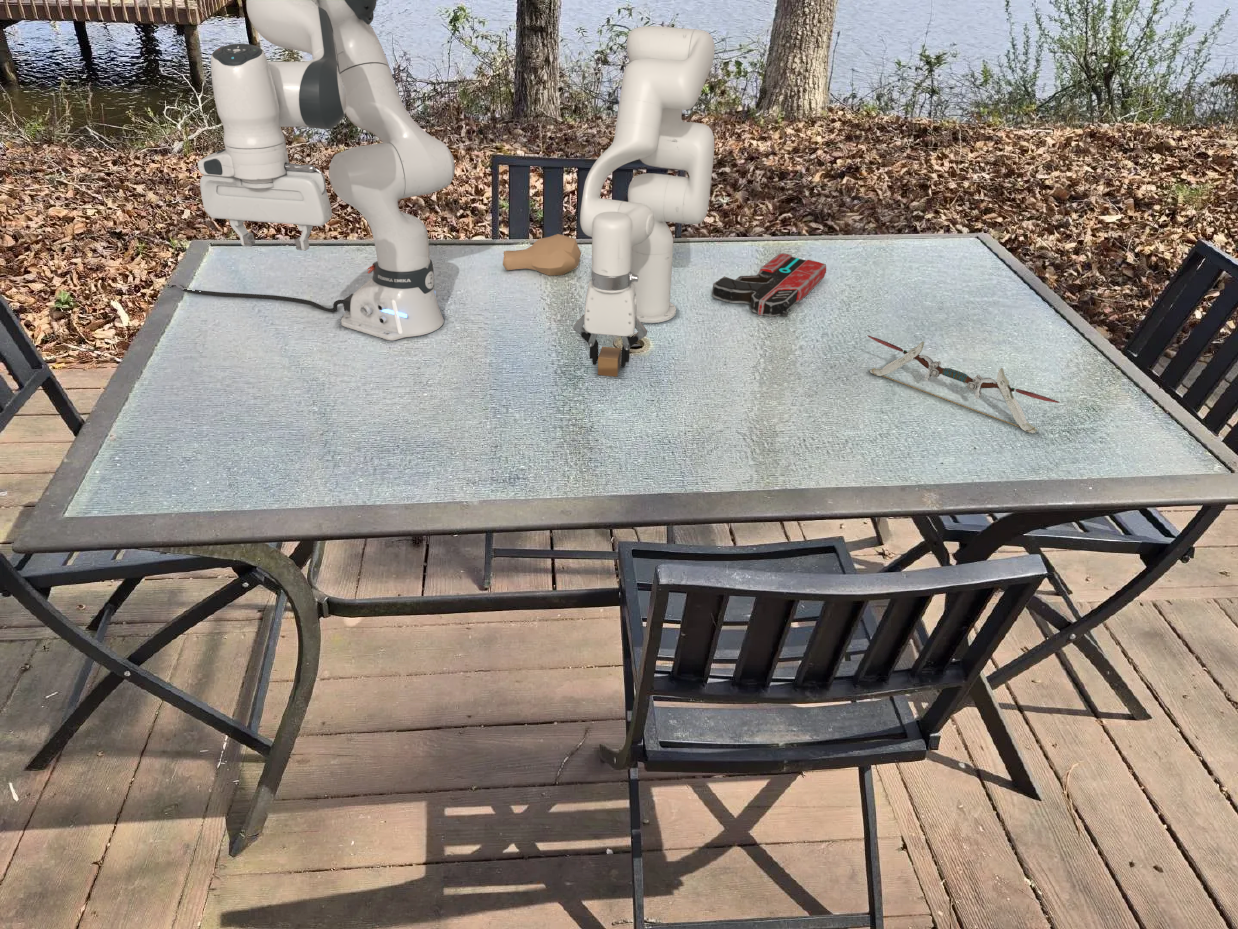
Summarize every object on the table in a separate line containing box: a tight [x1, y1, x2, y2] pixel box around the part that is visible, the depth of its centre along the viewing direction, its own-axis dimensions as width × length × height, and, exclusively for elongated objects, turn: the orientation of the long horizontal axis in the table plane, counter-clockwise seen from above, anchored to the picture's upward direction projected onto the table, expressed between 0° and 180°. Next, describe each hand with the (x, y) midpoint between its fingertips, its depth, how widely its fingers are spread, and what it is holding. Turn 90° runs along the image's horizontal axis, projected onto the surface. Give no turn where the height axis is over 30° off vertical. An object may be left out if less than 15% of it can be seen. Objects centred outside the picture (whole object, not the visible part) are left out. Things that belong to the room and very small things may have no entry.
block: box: [597, 345, 622, 377], centre depth 178 cm, size 5×4×4 cm
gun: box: [711, 252, 827, 318], centre depth 215 cm, size 4×31×19 cm
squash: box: [502, 233, 582, 276], centre depth 221 cm, size 11×20×9 cm, turn 90°
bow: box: [867, 334, 1060, 434], centre depth 169 cm, size 39×2×10 cm, turn 47°
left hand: (275, 247), depth 144 cm, fingers open, 8 cm apart
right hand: (609, 362), depth 178 cm, fingers open, 5 cm apart
